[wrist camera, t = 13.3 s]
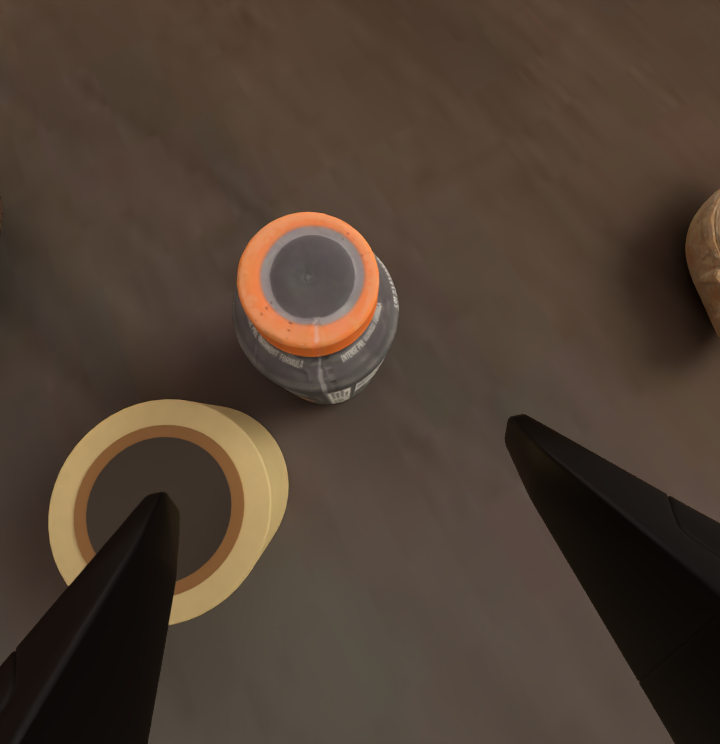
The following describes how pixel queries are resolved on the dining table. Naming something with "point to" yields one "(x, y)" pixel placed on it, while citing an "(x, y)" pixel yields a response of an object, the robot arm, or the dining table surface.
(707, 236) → the oil lamp
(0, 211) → the pottery
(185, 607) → the tape roll
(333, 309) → the pill bottle
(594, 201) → the dining table surface
